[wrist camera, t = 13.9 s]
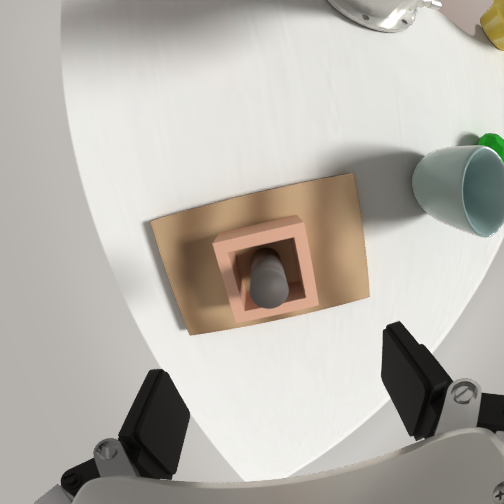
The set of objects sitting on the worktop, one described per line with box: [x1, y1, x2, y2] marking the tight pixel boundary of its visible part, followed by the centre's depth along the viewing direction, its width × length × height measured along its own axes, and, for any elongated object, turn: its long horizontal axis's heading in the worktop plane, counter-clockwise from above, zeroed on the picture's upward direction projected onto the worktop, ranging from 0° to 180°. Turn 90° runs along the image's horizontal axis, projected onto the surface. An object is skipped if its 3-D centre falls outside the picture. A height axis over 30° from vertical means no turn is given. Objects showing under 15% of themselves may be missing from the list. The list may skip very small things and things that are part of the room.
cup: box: [412, 145, 504, 237], centre depth 20 cm, size 8×8×10 cm
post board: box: [151, 173, 370, 336], centre depth 23 cm, size 20×13×8 cm, turn 104°
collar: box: [212, 215, 319, 323], centre depth 24 cm, size 7×7×4 cm
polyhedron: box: [478, 133, 504, 163], centre depth 21 cm, size 5×5×5 cm
